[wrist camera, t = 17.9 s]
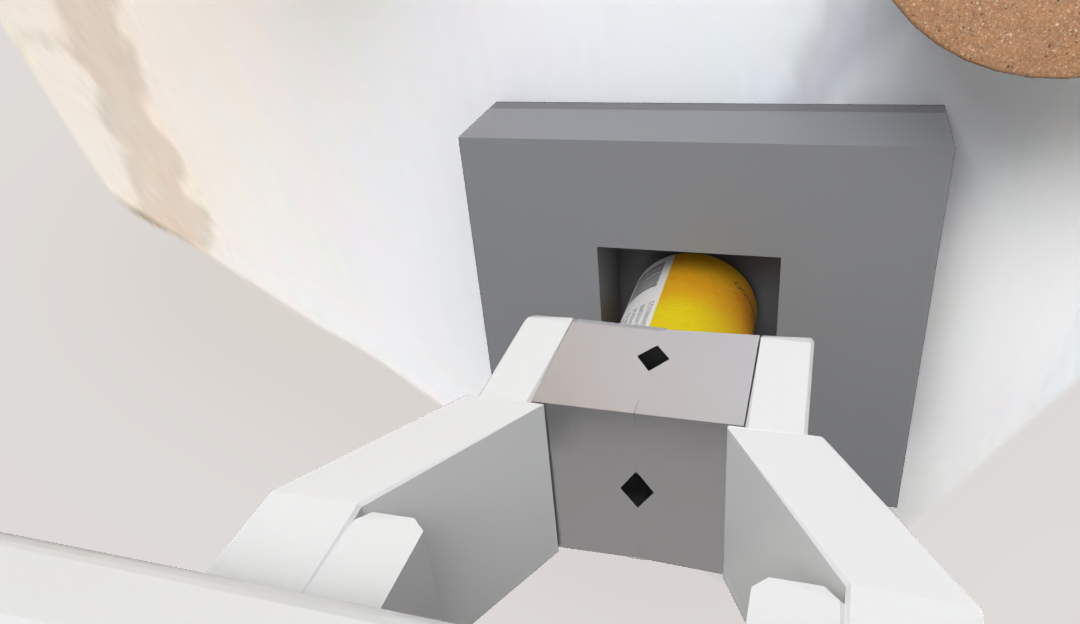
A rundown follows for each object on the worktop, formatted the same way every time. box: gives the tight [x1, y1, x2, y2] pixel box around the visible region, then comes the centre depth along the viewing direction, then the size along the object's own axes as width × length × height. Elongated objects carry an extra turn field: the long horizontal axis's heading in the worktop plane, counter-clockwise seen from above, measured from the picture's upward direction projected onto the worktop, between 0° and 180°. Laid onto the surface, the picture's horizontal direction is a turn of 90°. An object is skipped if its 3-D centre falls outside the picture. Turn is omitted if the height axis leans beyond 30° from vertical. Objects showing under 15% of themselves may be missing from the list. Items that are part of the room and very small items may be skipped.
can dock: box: [458, 102, 955, 508], centre depth 42 cm, size 20×18×5 cm
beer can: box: [620, 253, 757, 560], centre depth 37 cm, size 6×6×15 cm
